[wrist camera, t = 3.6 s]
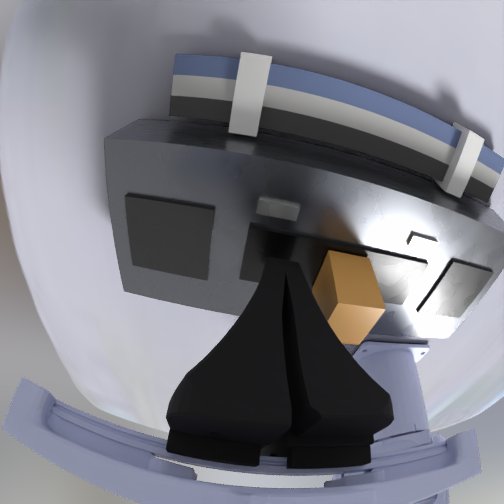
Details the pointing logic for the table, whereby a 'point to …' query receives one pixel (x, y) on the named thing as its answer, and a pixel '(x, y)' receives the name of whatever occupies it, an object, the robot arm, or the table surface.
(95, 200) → the table surface
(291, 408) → the robot arm
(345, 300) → the lever
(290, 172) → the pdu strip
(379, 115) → the cords
